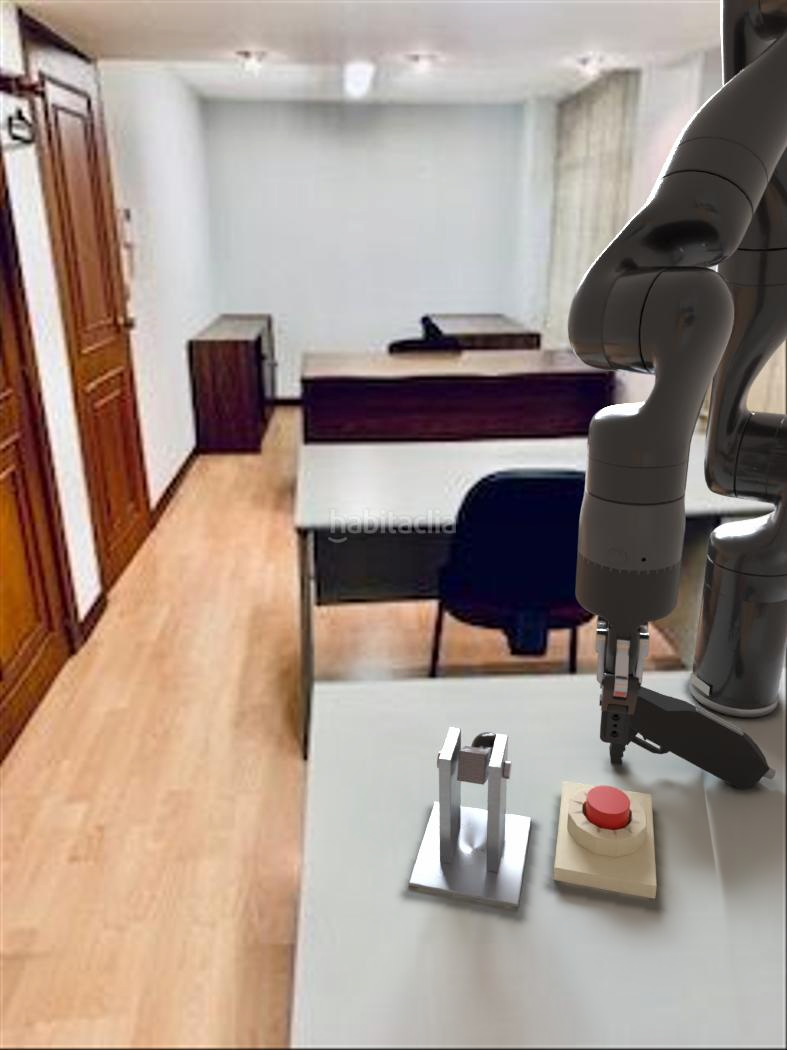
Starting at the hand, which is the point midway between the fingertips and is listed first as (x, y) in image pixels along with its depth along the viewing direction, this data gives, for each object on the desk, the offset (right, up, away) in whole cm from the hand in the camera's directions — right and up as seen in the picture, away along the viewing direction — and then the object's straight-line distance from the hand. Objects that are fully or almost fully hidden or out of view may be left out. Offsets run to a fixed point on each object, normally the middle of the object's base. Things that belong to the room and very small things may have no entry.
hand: (613, 737), depth 63 cm
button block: (0, -11, +4) cm, 12 cm away
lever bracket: (-11, -12, +3) cm, 16 cm away
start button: (0, -8, +3) cm, 8 cm away
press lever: (-11, -4, +4) cm, 12 cm away
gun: (+11, -8, +13) cm, 18 cm away
